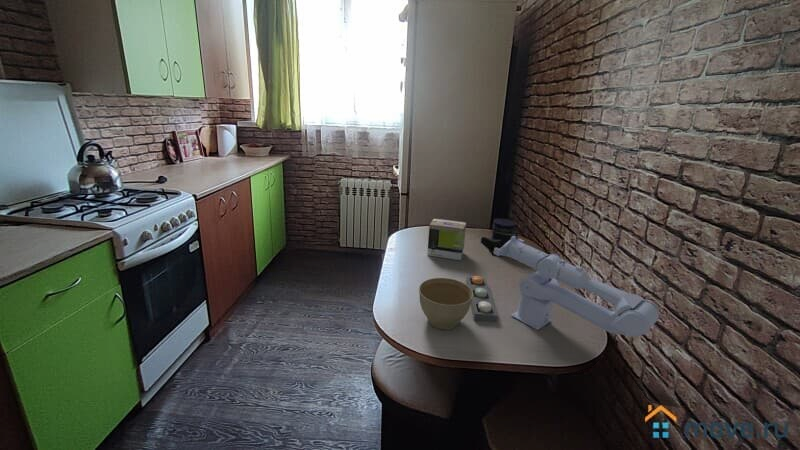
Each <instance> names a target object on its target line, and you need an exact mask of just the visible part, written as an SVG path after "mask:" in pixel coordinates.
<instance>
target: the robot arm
mask: <svg viewBox="0 0 800 450" xmlns="http://www.w3.org/2000/svg"><path fill="white" fill-rule="evenodd" d="M494 238H495V239H496V240H494V239H492V238H489V237H486V236H482V237H481V239H480V243H481V244H482V245H483V246H484V247H485V248H486V249H487V250H488V251H490V252H489V253H490V254H491V256H492V257H500V255H502V256H507V257H509V258H511V259H512V260H513V259H514V260H516V261H518V262H520V263H521V264H524V265H526V266H528V267H530V268H532V269H535V270H536V271H534V272H533V273H531V274H530V275H527V276H523V277H522V278H521V279H520V280H519V281H518V287H519V291H520V296H519V302H518V307H517V310H516V311H515V312H513V313H512V314H511V317H513V318H514V319H517V320H518V321H521V323H524V324H526V325H528V326H529V327H532V328H533V329H535V330H541V328H543V327H544V326H546V325H547V324H549V323H550V322H551V316H552V310H553V307H554V304H555V305H557V306H559V307H561V308H564V309H565V310H567V311H568V312H571V313H572V314H574V315H576V316H577V317H580V318H581V319H583V320H585V321H587V322H589V323H590V324H593V325H595V326H597V327H599V328H600V329H602V330H604V331H605V332H607V333H610V334H612V335H613V334H614V335H624V336H630V337H631V338H638V337H640V336H644V335H646V334H648V332H649V331H650V330H651V328H652V327H653V326H654V324H655V323H657V319H658V317H659V312H658V311H659V310H660V308H659V306H658V305H657V304H655V302H653V301H651V300H648V299H645V298H644V297H642V296H640V295H638V294H636V293H635V294H634V293H630V292H628V291H624V290H622V289H620V288H617V287H615V286H611V285H609V284H607V283H604V282H601V281H599V280H597V279H595V278H592V277H590V275H589V274H588V271H586V270H584V269H583V267H582V266H580V265H577V266H576V265H573V264H571V263H569V262H567V261H566V260H564V259H563V258H561V257H560V256H559V254H557V253H551V254H548V253H546V252H544V251H542V250H539V249H537V248H535V247H532V246H531V245H528V244H525V240H523V239H521V238H518V234H517V233H514V234H503V233H498V232H496V233H495V236H494ZM501 243H503V244H504V245H503V246H500V245H501ZM559 282H561V283H563V284H565V285H567V286H569V287H570V288H573V289H575V290H581V289H584V290H586V291H588V292H590V293H592V294H594V295H595V296H597V297H599V298H601V299H602V300H604V301H605V302H608V303H609V304H611V305H612V308H613V310H614V311H613V310H610V309H608V308H606V307H605V306H603V305H601V304H598V303H596V302H594V301H592V300H590V299H588V298H586V297H584V296H582V295H580V294H578V293H576V292H574V291H572V290H570V289H568V288H566V287H564V286H562V285H560V284H559ZM657 309H658V310H657Z"/></svg>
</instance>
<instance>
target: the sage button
mask: <svg viewBox="0 0 800 450" xmlns="http://www.w3.org/2000/svg"><path fill="white" fill-rule="evenodd" d="M475 297H477V298H486V297H487V290H486V289H484V288H476V289H475Z"/></svg>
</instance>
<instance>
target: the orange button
mask: <svg viewBox="0 0 800 450" xmlns="http://www.w3.org/2000/svg"><path fill="white" fill-rule="evenodd" d="M471 277H472V284H473V285H483V278H484V277H482V276H480V275H474V276H471Z"/></svg>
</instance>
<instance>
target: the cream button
mask: <svg viewBox="0 0 800 450" xmlns="http://www.w3.org/2000/svg"><path fill="white" fill-rule="evenodd" d="M491 307H492V305H491V304H490V303H488V302H485V301H482V302H479V306H478V310H479V312H481V313H490V312H491Z"/></svg>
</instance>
